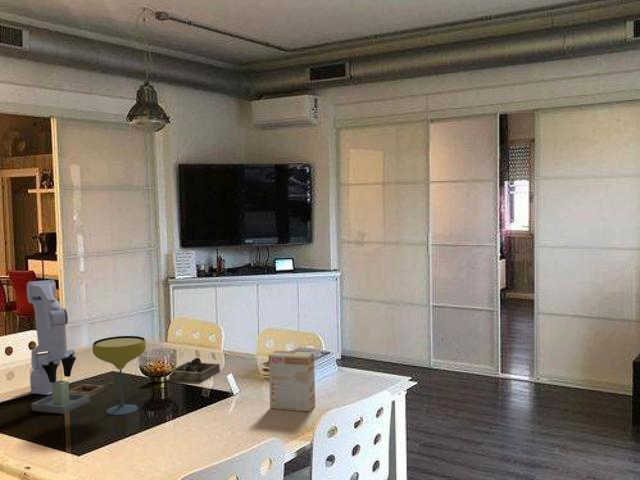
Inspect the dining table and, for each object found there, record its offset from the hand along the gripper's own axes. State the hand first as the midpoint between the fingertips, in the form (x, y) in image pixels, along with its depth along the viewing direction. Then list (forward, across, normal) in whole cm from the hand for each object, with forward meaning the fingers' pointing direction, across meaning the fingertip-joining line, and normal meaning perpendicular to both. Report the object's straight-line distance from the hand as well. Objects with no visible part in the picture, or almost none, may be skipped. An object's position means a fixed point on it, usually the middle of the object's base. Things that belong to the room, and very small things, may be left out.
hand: (60, 379), depth 232 cm
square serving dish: (+10, +48, -28) cm, 56 cm away
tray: (+10, 0, 0) cm, 10 cm away
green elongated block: (+9, 0, 0) cm, 9 cm away
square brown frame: (+10, +16, +2) cm, 19 cm away
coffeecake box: (+10, +21, -83) cm, 86 cm away
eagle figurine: (+10, +50, -26) cm, 57 cm away
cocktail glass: (+10, +2, -25) cm, 27 cm away
